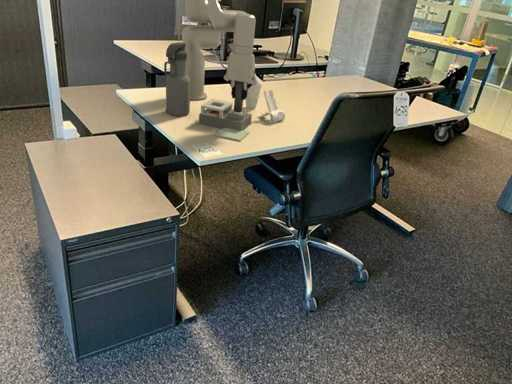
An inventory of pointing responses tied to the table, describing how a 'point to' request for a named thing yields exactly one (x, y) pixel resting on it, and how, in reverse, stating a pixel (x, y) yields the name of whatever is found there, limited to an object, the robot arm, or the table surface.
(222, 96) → the table surface
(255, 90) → the soft serve ice cream cone
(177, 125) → the table surface
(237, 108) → the stylus
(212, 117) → the grey push-button box
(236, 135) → the mat
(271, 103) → the plastic part
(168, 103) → the water bottle
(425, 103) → the table surface
